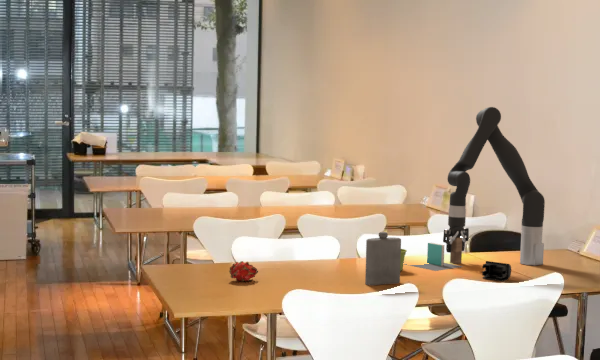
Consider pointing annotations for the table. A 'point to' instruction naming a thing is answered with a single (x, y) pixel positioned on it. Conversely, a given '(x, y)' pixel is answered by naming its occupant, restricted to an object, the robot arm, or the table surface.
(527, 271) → the table surface
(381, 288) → the table surface
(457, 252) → the walnut stick
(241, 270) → the dragon fruit
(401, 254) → the plant pot
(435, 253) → the tile
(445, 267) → the mat
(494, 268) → the end cap
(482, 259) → the table surface
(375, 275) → the flask
